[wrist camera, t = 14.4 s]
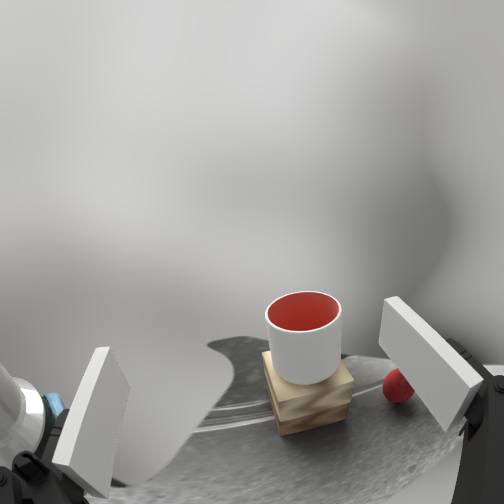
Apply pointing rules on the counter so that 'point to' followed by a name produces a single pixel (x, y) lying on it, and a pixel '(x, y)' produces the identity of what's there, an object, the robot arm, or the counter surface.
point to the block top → (307, 392)
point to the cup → (304, 336)
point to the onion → (397, 387)
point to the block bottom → (309, 418)
